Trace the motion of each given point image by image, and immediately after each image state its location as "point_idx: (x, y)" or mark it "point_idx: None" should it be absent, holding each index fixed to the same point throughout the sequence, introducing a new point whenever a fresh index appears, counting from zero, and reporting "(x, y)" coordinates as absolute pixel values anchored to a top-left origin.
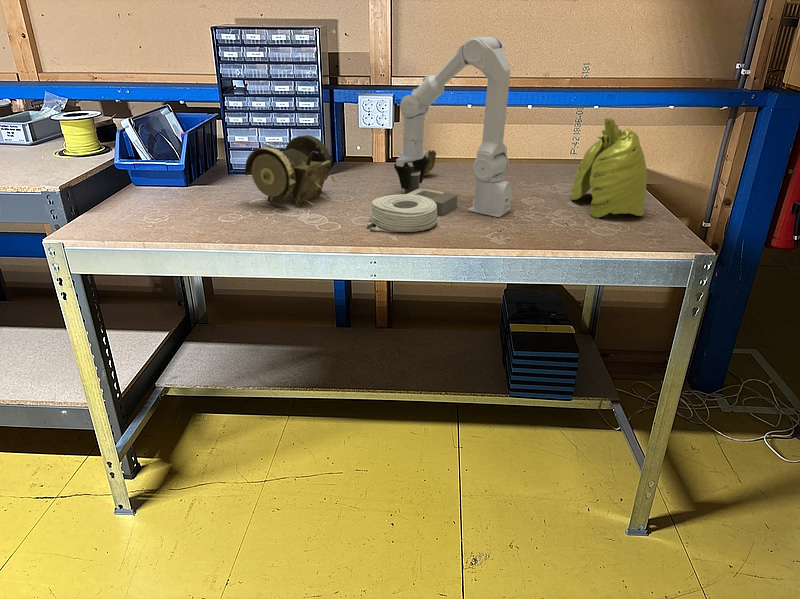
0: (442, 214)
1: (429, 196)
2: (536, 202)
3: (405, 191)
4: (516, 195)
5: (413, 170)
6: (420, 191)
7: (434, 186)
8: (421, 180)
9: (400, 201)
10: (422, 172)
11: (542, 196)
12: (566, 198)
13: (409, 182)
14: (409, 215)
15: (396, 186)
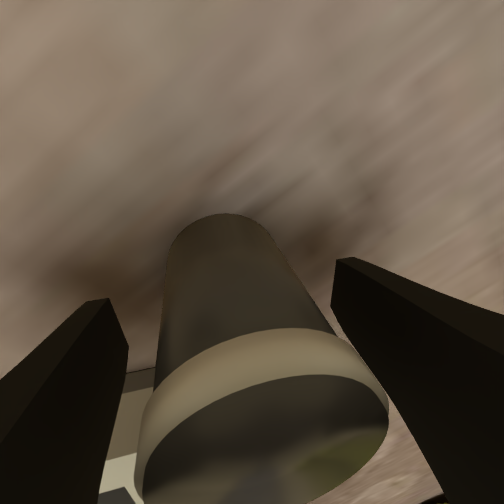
0: None
1: None
2: (378, 497)
3: (167, 265)
4: (418, 458)
5: (281, 475)
6: None
7: (435, 261)
8: (342, 329)
9: None
10: (396, 397)
11: (430, 477)
12: (431, 494)
13: (111, 420)
14: None
15: (322, 15)
